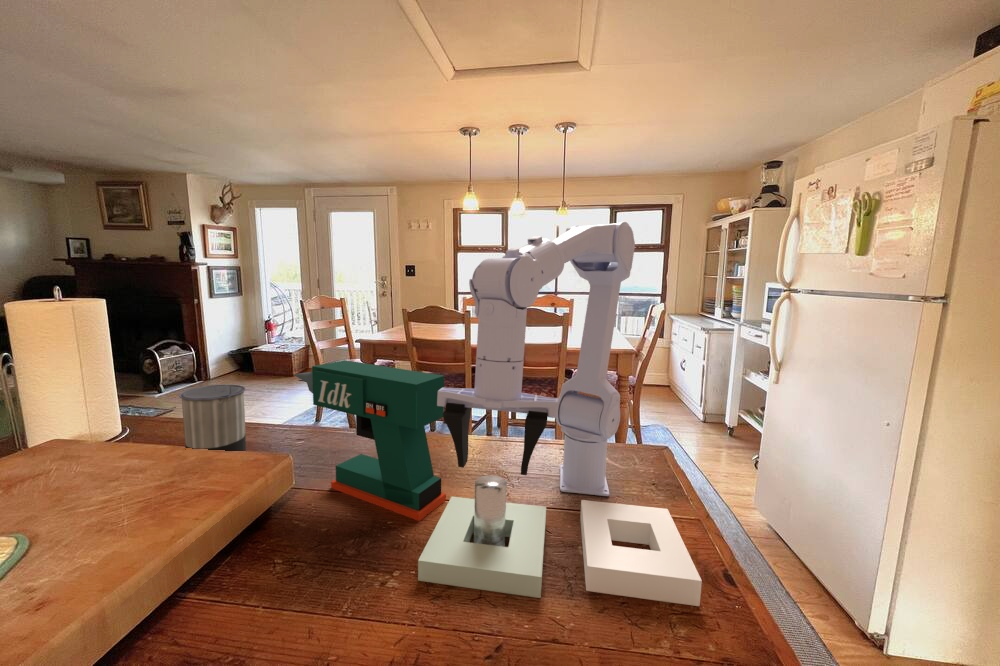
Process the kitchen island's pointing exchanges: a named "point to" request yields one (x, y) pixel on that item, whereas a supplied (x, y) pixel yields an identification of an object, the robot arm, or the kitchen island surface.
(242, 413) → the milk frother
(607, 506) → the cream square-hole board
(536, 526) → the socket block
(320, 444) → the kitchen island surface
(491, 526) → the steel peg
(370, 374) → the power tool
